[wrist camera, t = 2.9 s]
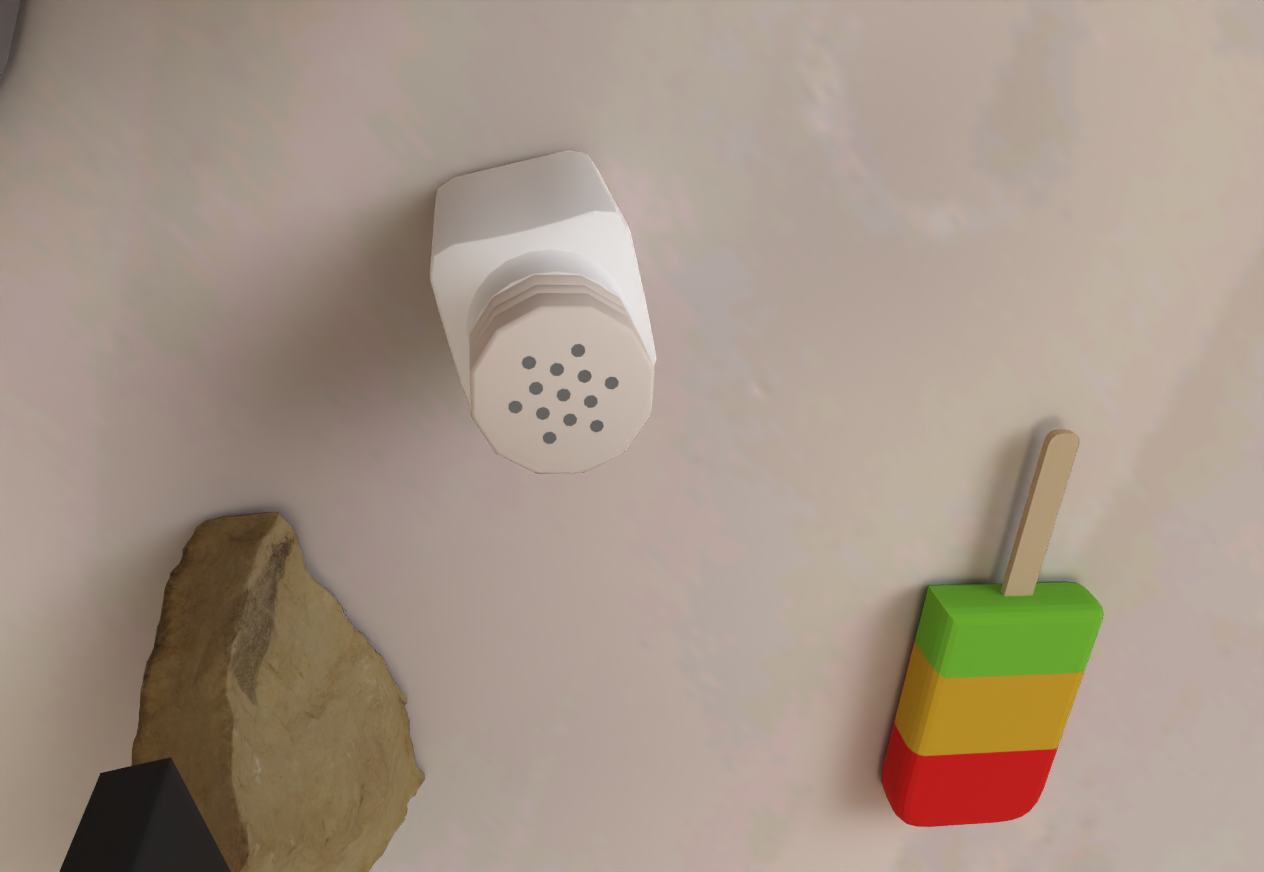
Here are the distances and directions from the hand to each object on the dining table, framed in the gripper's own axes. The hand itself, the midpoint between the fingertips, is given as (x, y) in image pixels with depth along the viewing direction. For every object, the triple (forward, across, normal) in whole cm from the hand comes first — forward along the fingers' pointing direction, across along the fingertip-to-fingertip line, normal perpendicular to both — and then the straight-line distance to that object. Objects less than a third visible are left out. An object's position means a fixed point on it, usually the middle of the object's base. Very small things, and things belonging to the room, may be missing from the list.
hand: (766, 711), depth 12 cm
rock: (+17, -10, -10) cm, 22 cm away
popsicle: (+17, +10, -15) cm, 25 cm away
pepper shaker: (+17, -2, +1) cm, 17 cm away
